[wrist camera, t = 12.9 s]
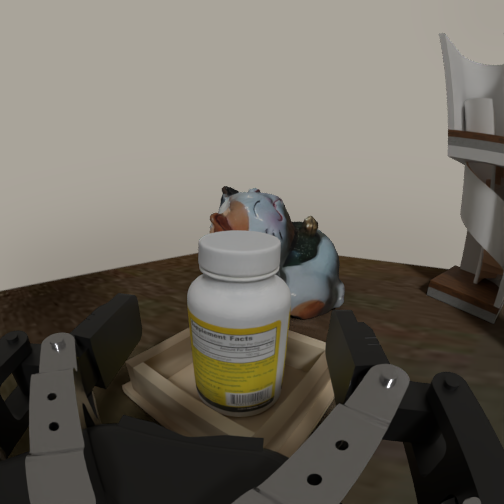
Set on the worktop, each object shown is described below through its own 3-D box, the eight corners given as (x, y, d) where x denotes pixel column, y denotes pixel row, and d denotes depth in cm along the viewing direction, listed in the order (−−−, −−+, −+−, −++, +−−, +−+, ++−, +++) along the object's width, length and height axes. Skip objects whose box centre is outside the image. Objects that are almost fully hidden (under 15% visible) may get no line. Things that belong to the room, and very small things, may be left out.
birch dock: (123, 392, 16) (113, 358, 15) (221, 332, 24) (221, 302, 23) (266, 491, 10) (271, 466, 9) (344, 380, 18) (353, 347, 17)
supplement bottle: (229, 354, 20) (230, 222, 17) (295, 381, 18) (314, 237, 15) (178, 392, 16) (161, 240, 13) (250, 434, 13) (260, 266, 10)
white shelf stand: (452, 277, 38) (464, 66, 27) (505, 298, 29) (521, 70, 19) (426, 294, 32) (439, 33, 21) (493, 324, 23) (509, 33, 13)
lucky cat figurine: (348, 329, 25) (296, 193, 19) (235, 348, 29) (161, 242, 24) (341, 244, 37) (304, 146, 31) (261, 266, 42) (215, 181, 36)
